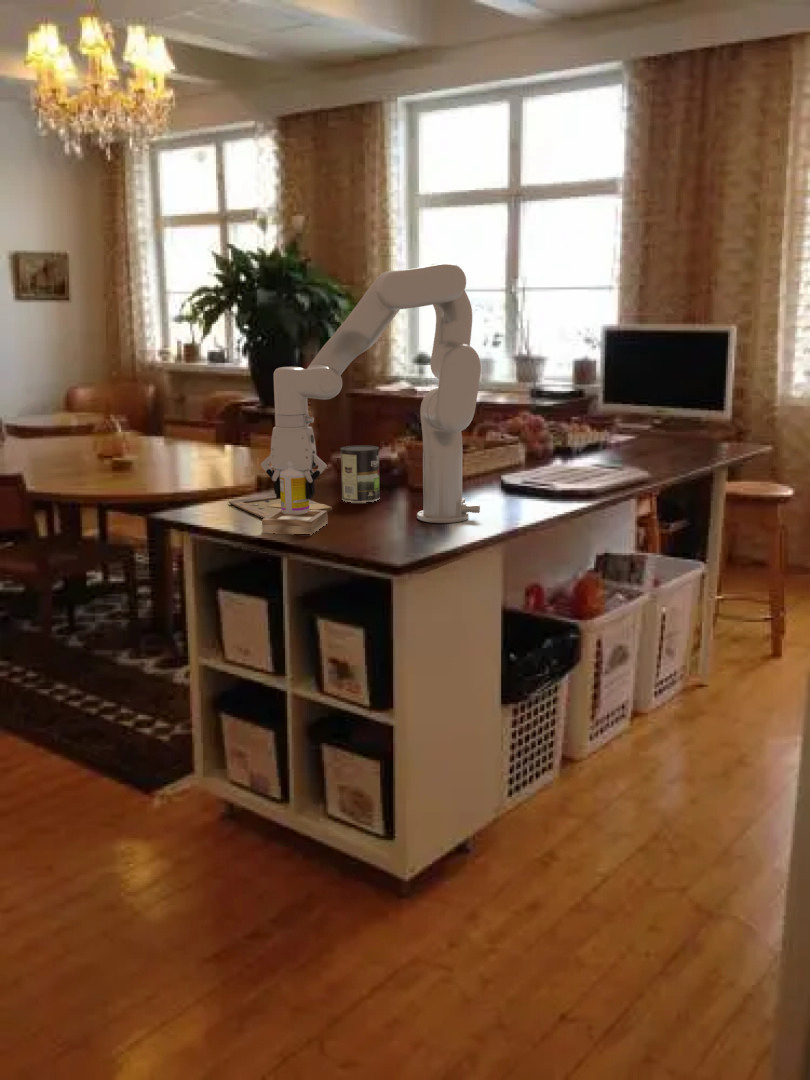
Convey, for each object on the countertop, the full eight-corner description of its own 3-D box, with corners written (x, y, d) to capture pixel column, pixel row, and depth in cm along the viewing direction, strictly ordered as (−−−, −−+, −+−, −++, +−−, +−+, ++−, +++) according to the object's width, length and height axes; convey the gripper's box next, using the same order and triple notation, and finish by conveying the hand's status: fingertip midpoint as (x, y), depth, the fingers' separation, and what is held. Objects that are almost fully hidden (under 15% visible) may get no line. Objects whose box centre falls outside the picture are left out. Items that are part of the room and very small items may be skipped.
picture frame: (332, 514, 248) (292, 498, 267) (332, 507, 247) (292, 492, 267) (265, 523, 238) (228, 506, 258) (264, 516, 238) (228, 500, 257)
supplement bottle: (314, 510, 231) (313, 457, 227) (300, 516, 225) (298, 461, 222) (290, 508, 233) (288, 455, 230) (275, 514, 227) (273, 459, 224)
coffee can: (383, 496, 265) (382, 445, 262) (375, 504, 256) (374, 451, 252) (347, 495, 267) (345, 444, 264) (337, 503, 258) (335, 450, 254)
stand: (327, 523, 234) (327, 510, 233) (311, 535, 223) (311, 521, 222) (280, 521, 237) (280, 508, 236) (262, 533, 226) (261, 519, 225)
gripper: (332, 420, 225) (335, 496, 230) (262, 418, 229) (265, 493, 234) (322, 424, 218) (325, 502, 223) (250, 422, 222) (254, 499, 227)
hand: (294, 497), depth 228 cm, fingers closed on supplement bottle, 6 cm apart
